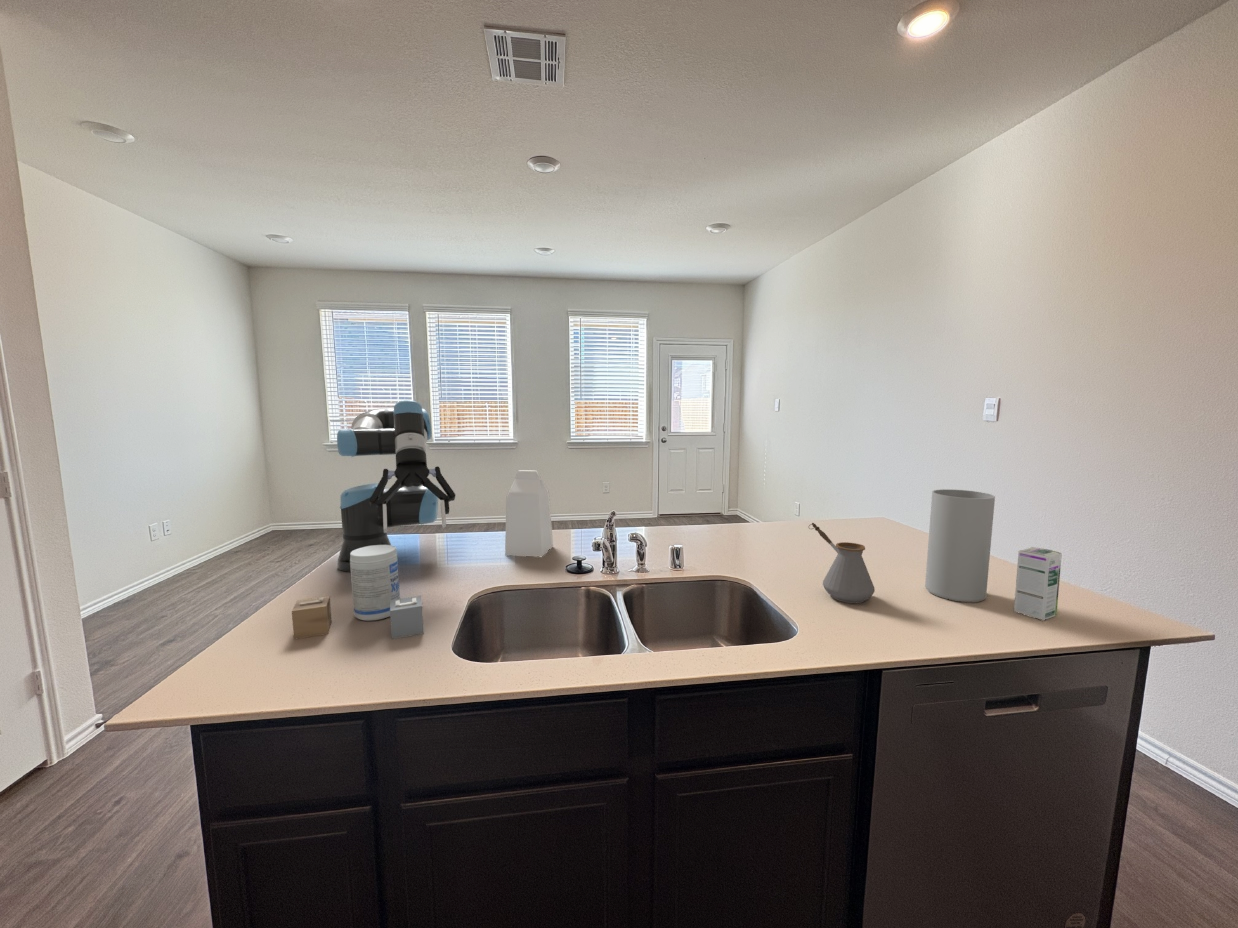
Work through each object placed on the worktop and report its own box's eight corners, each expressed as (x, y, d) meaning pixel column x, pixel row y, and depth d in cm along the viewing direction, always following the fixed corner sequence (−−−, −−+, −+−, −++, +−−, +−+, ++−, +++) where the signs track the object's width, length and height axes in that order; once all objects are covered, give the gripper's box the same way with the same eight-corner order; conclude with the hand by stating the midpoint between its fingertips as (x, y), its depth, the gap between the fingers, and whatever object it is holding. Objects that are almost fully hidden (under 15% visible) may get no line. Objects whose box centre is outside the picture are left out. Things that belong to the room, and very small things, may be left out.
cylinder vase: (995, 596, 121) (1005, 495, 118) (970, 607, 115) (979, 500, 112) (941, 581, 132) (948, 487, 129) (914, 590, 126) (921, 492, 122)
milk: (505, 555, 156) (502, 472, 152) (518, 545, 167) (516, 467, 164) (542, 557, 154) (540, 473, 150) (553, 546, 165) (551, 468, 162)
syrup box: (1044, 621, 107) (1050, 556, 106) (1012, 611, 113) (1018, 549, 111) (1056, 616, 110) (1063, 552, 108) (1025, 606, 115) (1031, 545, 114)
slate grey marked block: (392, 627, 106) (390, 598, 105) (422, 622, 108) (420, 594, 108) (391, 639, 101) (389, 609, 100) (423, 633, 103) (422, 604, 102)
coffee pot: (885, 604, 117) (889, 541, 115) (842, 608, 114) (846, 545, 113) (827, 574, 138) (830, 520, 136) (790, 577, 135) (792, 523, 133)
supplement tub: (404, 615, 112) (400, 551, 110) (356, 626, 106) (352, 559, 105) (396, 601, 120) (392, 541, 118) (351, 610, 114) (347, 548, 113)
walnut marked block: (299, 627, 106) (296, 598, 105) (331, 622, 108) (329, 594, 108) (294, 639, 101) (291, 609, 100) (328, 633, 103) (326, 604, 102)
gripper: (357, 448, 125) (358, 527, 116) (460, 445, 135) (468, 517, 127) (359, 462, 131) (360, 538, 123) (458, 458, 141) (466, 528, 133)
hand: (415, 528), depth 125 cm, fingers open, 13 cm apart
